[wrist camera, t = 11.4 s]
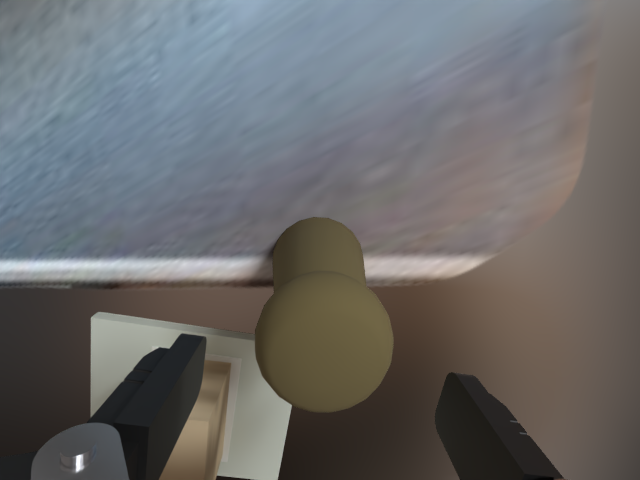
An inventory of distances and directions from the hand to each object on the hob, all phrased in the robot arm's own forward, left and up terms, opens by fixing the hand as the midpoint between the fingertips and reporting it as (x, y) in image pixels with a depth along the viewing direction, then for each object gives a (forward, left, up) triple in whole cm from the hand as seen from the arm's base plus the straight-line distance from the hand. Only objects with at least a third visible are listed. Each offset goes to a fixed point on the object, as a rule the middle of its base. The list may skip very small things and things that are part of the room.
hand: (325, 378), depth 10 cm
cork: (0, 0, -11) cm, 11 cm away
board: (+12, -7, -11) cm, 18 cm away
